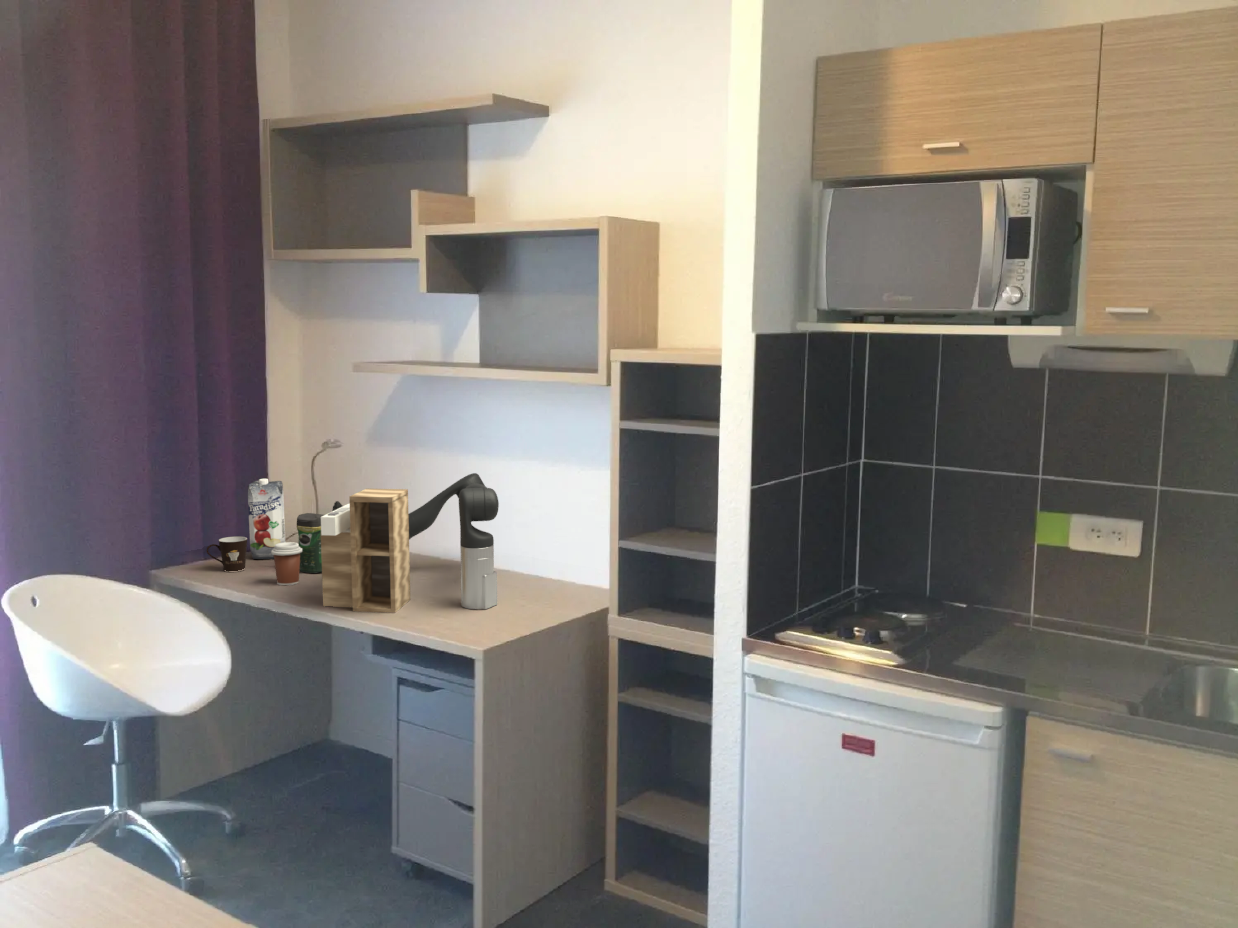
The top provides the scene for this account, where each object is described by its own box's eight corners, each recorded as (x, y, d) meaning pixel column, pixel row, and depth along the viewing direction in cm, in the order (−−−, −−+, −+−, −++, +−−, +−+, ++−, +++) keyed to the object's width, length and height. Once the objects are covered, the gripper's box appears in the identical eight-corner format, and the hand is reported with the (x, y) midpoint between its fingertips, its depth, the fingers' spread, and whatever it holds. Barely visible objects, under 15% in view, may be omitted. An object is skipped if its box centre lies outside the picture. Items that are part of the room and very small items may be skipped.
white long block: (352, 519, 318) (351, 500, 317) (365, 519, 317) (364, 501, 317) (321, 535, 294) (320, 515, 293) (335, 535, 294) (335, 515, 293)
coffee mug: (253, 567, 350) (251, 536, 349) (241, 573, 342) (239, 542, 341) (218, 566, 352) (217, 536, 350) (206, 572, 343) (204, 541, 342)
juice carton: (256, 554, 369) (252, 476, 365) (287, 554, 369) (284, 476, 366) (248, 560, 360) (245, 480, 356) (281, 560, 360) (277, 480, 357)
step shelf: (338, 595, 315) (335, 486, 311) (412, 597, 312) (409, 488, 308) (317, 610, 299) (313, 495, 295) (395, 612, 297) (392, 497, 292)
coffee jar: (334, 569, 347) (332, 512, 344) (316, 575, 340) (314, 516, 337) (311, 566, 351) (309, 510, 349) (293, 571, 344) (291, 514, 342)
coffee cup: (306, 579, 334) (305, 541, 333) (300, 586, 325) (298, 547, 324) (276, 579, 334) (274, 541, 332) (269, 586, 325) (267, 547, 323)
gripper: (346, 511, 328) (328, 491, 313) (392, 512, 326) (376, 492, 311) (343, 534, 325) (324, 516, 310) (389, 535, 323) (372, 517, 308)
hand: (350, 504), depth 311 cm, fingers open, 8 cm apart
